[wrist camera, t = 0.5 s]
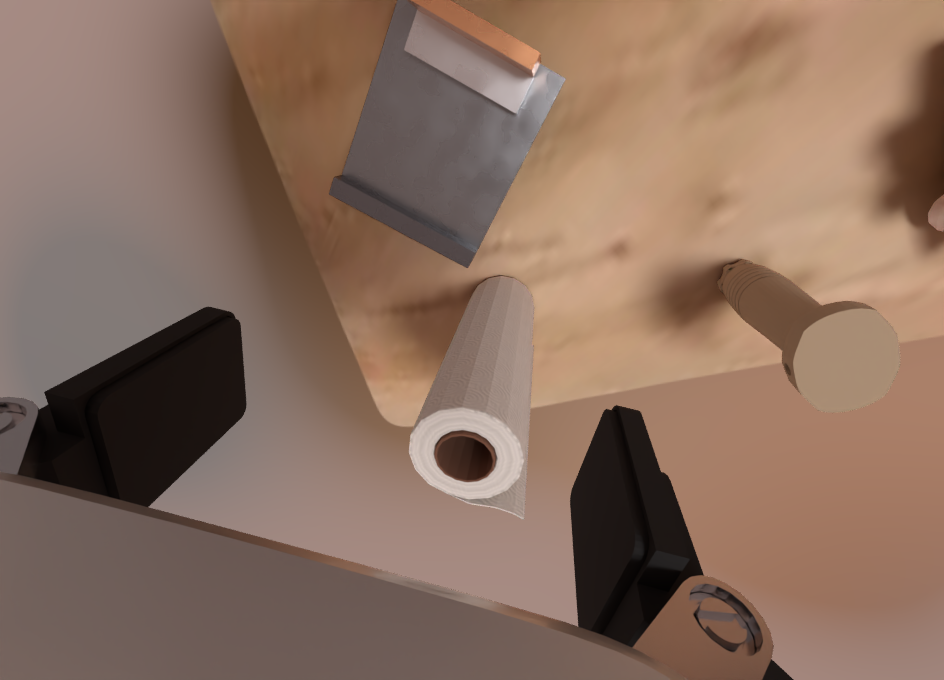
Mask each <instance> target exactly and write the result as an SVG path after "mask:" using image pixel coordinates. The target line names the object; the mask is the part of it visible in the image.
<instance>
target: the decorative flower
mask: <svg viewBox="0 0 944 680" xmlns="http://www.w3.org/2000/svg"><path fill="white" fill-rule="evenodd" d="M928 223H930V224H931V225H932V226H933V227H934V228H935V229H936V230H938V231H942V232H943V231H944V195H942V196H941V197H940V198H939V199H937V200H936V201H935V202H934V203H933V205H932V207H931V209H930V211H929V213H928Z"/></svg>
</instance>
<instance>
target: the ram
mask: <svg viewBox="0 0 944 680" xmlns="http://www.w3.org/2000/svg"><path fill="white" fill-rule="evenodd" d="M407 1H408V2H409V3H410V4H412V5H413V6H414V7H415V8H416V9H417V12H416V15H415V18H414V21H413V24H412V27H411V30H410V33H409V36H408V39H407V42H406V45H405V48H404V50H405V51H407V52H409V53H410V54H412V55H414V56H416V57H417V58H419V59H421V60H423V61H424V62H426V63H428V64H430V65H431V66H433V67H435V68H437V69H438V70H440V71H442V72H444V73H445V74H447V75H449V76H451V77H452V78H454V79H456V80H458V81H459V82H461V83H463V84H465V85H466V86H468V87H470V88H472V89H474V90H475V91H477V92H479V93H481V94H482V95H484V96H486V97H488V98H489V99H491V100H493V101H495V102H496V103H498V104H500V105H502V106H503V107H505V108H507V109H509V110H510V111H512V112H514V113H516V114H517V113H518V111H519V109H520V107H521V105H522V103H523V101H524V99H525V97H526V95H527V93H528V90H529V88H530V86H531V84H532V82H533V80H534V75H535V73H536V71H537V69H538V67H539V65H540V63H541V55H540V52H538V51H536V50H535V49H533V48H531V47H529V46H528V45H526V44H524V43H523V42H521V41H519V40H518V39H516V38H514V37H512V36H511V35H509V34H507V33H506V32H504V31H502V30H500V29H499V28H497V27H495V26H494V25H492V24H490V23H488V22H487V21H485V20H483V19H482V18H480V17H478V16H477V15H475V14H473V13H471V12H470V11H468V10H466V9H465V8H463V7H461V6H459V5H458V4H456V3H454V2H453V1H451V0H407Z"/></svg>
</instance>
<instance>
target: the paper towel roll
mask: <svg viewBox="0 0 944 680" xmlns="http://www.w3.org/2000/svg"><path fill="white" fill-rule="evenodd" d="M533 320H534V303H533V298H532V295H531V293H530V292H529V290H528V289H527V288H526V286H525V285H524V284H522V283H521V282H519V281H518V280H516V279H514V278H510V277H505V276H498V277H492V278H488V279H487V280H485V281H484V282H482V283H481V284H479V285H478V286H477V288H476V289H475V291H474V292H473V294H472V296H471V298H470V300H469V303H468V305H467V307H466V309H465V312H464V314H463V316H462V319H461V321H460V323H459V325H458V328H457V330H456V332H455V334H454V337H453V339H452V341H451V344H450V346H449V348H448V350H447V353H446V355H445V357H444V359H443V362H442V364H441V366H440V369H439V371H438V373H437V375H436V378H435V380H434V382H433V384H432V387H431V389H430V391H429V394H428V396H427V398H426V400H425V403H424V405H423V407H422V409H421V412H420V414H419V416H418V419H417V421H416V423H415V425H414V428H413V430H412V432H411V436H410V446H409V454H410V457H411V459H412V462H413V464H414V467H415V470H416V471H417V472H418V473H419V474H420V475H421V476H422V477H423V478H424V479H425V481H426V482H427V483H428V484H429V485H431V486H433V487H435V488H437V489H439V490H441V491H443V492H445V493H447V494H449V495H451V496H453V497H455V498H457V499H460V500H462V501H464V502H466V503H468V504H473V505H479V506H486V507H492V508H497V509H500V510H503V511H506V512H509V513H512V514H514V515H516V516H518V517H519V518H521V519H524V510H525V493H526V475H527V457H528V439H529V422H530V421H529V420H530V404H531V386H532V368H533V351H534V345H532V336H533Z"/></svg>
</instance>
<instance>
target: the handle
mask: <svg viewBox="0 0 944 680" xmlns="http://www.w3.org/2000/svg"><path fill="white" fill-rule="evenodd" d="M717 284H718V287H719V289H720V291H721V292H722V293H724V295H725V297H726V299H727V301H728V302H729V304H730V305H731V306H732V308H733V309H734V310H735V311H736V312H737V313H738V314H739V316H740V317H741V318H742V319H743V320H745V322H747V323H748V324H749V325H751V326H752V327H753V328H754V329H756V330H757V331H758V332H760V333H761V334H762V335H764V336H765V337H766V338H767V339H769V340H770V341H771V342H772V343H774V344H775V345H776V346H777V347H779V348H780V349H781V350H782V351H783V352H782V364H783V366H784V369H785V372H786V374H787V376H788V379H789V381H790V382H791V383H792V384H793V386H794V387H795V388H796V389H797V390H798V392H799V393H800V394H801V395H802V396H803V397H804V398H805V399H806V400H807V401H808V402H809V403H810V404H812V405H813V406H814V407H815V408H816V409H817V410H818V411H823V412H831V413H835V412H845V411H851V410H855V409H859V408H862V407H865V406H867V405H870V404H872V403H874V402H876V401H878V400H879V399H881V398H882V397H883V396H885V395H886V394H887V392H888V390H889V388H890V387H891V385H892V383H893V381H894V379H895V377H896V375H897V373H898V370H899V367H900V347H899V340H898V336H897V333H896V331H895V330H894V328H893V327H892V326H891V325H890V323H889V322H888V321H887V320H886V319H885V318H884V317H883V316H882V315H881V314H880V313H879V312H878V311H877V310H875V309H873V308H872V307H870V306H868V305H866V304H864V303H859V302H852V301H842V302H835V303H830V304H826V305H823V306H822V305H820V304H819V303H818V302H817V301H815V300H814V299H813V298H812V297H810V296H809V295H808V294H807V293H805V292H804V291H803V290H802V289H800V288H799V287H798V286H797V285H795V284H794V283H793V282H792V281H790V280H789V279H787V278H786V277H784V276H782V275H781V274H779V273H777V272H775V271H773V270H771V269H769V268H766V267H764V266H760V265H756V264H753V262H751V261H749V260H740V261H739V262H737V263H735V264H731V265H729V264H727V265H726V266H725V267H724V268H723V274H722V277H721V278H720V280H718V282H717Z"/></svg>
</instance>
